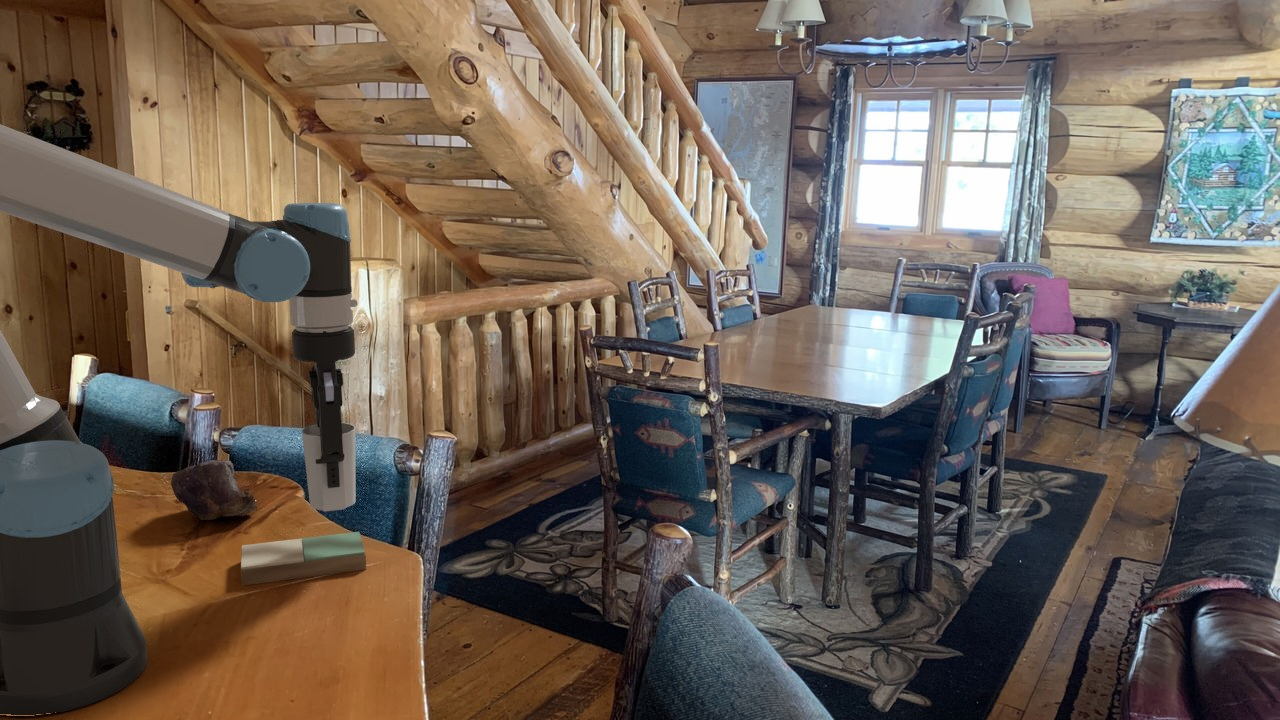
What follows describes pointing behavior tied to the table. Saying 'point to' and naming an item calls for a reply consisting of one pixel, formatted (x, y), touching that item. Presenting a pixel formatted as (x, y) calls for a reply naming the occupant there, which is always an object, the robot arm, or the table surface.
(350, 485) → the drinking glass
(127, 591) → the table surface
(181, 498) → the rock
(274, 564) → the cream and green board
